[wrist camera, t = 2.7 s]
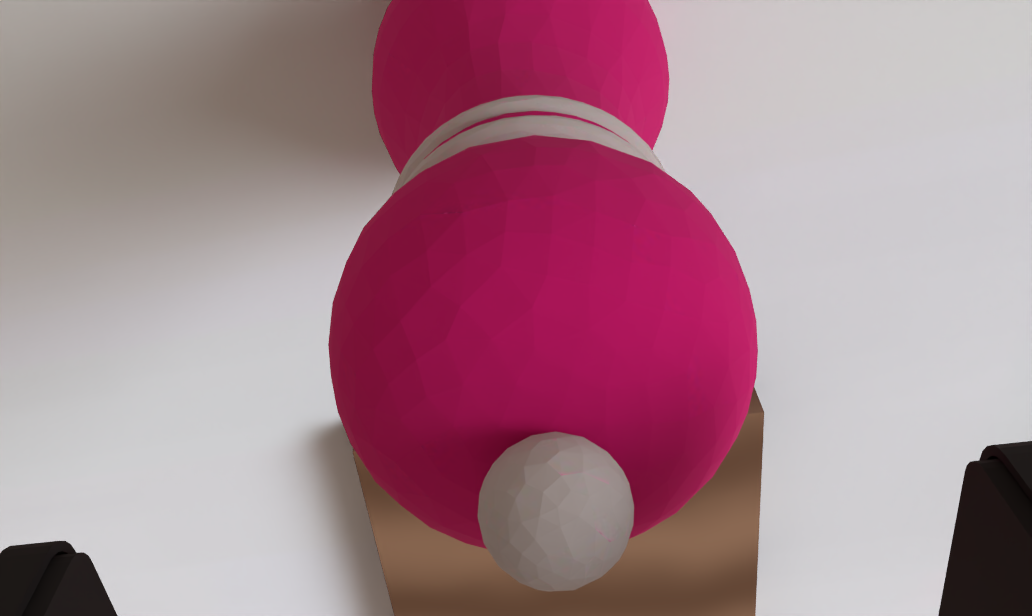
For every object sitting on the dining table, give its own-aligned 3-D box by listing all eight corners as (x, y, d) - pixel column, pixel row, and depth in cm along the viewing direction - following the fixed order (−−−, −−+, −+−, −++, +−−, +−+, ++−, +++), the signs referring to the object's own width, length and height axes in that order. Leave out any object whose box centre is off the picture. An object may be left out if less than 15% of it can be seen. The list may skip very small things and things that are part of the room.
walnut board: (359, 415, 34) (352, 452, 32) (750, 377, 34) (763, 412, 32) (427, 695, 43) (425, 735, 41) (740, 667, 42) (751, 707, 40)
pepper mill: (369, 123, 28) (190, 732, 11) (413, -134, 25) (246, 195, 8) (601, 174, 29) (754, 800, 12) (676, -66, 26) (1042, 356, 9)
